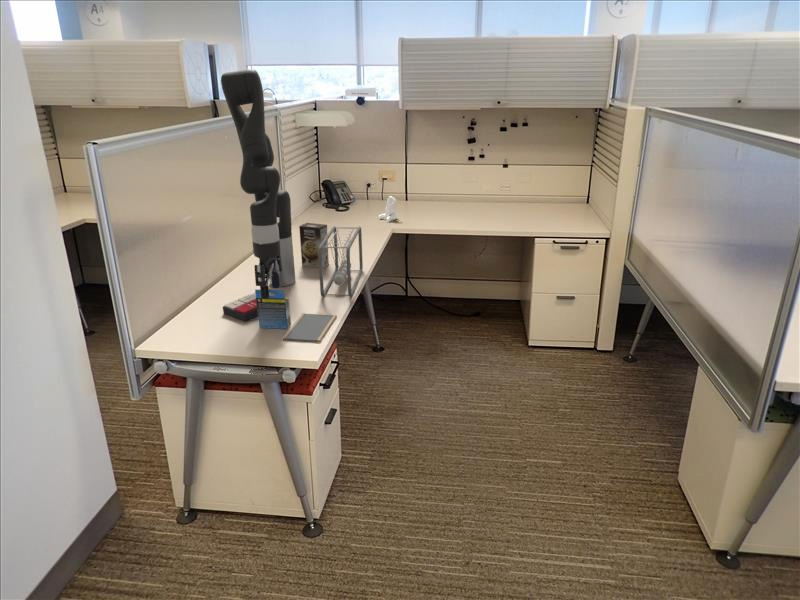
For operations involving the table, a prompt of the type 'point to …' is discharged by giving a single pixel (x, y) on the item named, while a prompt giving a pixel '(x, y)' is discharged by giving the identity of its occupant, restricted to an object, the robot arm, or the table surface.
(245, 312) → the black red flat box
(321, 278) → the newton's cradle
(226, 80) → the robot arm
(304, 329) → the mat
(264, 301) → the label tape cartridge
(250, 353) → the table surface
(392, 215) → the sitting furry creature
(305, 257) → the coffee box
